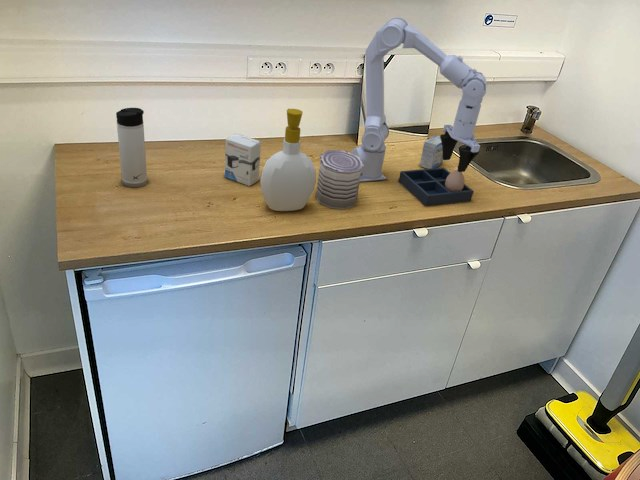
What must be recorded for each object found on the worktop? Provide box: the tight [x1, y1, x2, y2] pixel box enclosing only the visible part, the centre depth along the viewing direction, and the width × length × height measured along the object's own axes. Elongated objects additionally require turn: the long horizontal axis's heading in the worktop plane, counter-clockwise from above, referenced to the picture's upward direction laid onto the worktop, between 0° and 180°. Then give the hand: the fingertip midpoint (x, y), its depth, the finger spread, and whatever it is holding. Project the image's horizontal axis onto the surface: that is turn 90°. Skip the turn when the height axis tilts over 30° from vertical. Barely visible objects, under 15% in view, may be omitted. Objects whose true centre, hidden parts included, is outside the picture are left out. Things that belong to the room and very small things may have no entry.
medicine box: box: [419, 135, 444, 169], centre depth 172 cm, size 8×4×9 cm, turn 143°
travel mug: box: [115, 107, 148, 188], centre depth 138 cm, size 6×7×20 cm
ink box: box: [224, 133, 262, 187], centre depth 149 cm, size 8×5×12 cm, turn 62°
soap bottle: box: [259, 108, 317, 212], centre depth 135 cm, size 14×9×26 cm, turn 108°
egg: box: [445, 169, 465, 192], centre depth 155 cm, size 5×5×7 cm
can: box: [315, 149, 364, 210], centre depth 145 cm, size 11×11×12 cm
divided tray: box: [398, 167, 475, 207], centre depth 158 cm, size 15×15×3 cm
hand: (453, 165), depth 154 cm, fingers open, 7 cm apart
